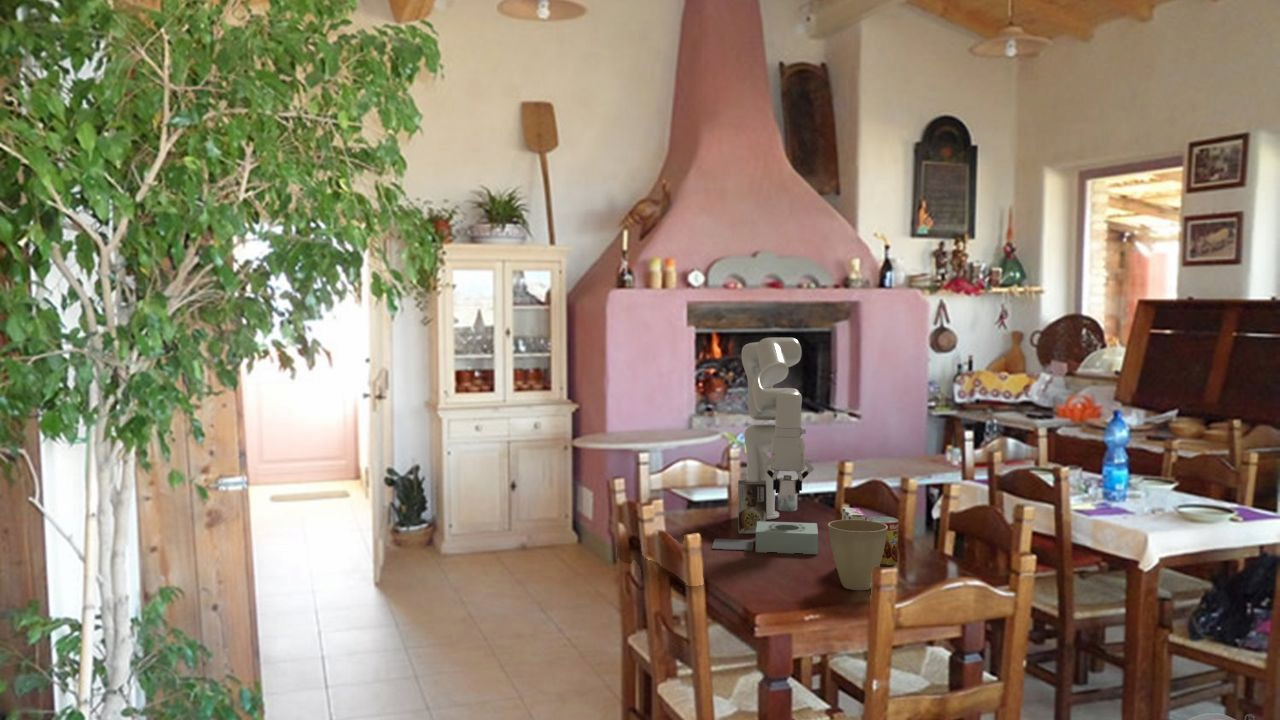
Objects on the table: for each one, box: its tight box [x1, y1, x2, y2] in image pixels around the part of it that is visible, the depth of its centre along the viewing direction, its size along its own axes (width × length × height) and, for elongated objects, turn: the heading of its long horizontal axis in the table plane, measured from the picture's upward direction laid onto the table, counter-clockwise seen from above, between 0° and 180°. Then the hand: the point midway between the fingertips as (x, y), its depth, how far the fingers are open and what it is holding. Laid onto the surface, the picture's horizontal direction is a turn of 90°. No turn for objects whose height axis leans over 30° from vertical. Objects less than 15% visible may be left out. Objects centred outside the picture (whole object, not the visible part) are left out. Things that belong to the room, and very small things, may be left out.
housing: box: [755, 521, 819, 555], centre depth 285 cm, size 14×18×6 cm
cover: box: [777, 474, 798, 512], centre depth 284 cm, size 6×6×10 cm
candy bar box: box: [841, 507, 868, 520], centre depth 259 cm, size 11×5×16 cm, turn 178°
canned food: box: [869, 515, 899, 566], centre depth 269 cm, size 8×8×12 cm
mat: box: [711, 538, 755, 552], centre depth 287 cm, size 12×12×1 cm
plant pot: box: [827, 519, 888, 591], centre depth 244 cm, size 15×15×16 cm
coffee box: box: [737, 479, 768, 534], centre depth 305 cm, size 9×6×16 cm
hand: (787, 492), depth 285 cm, fingers closed on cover, 5 cm apart
